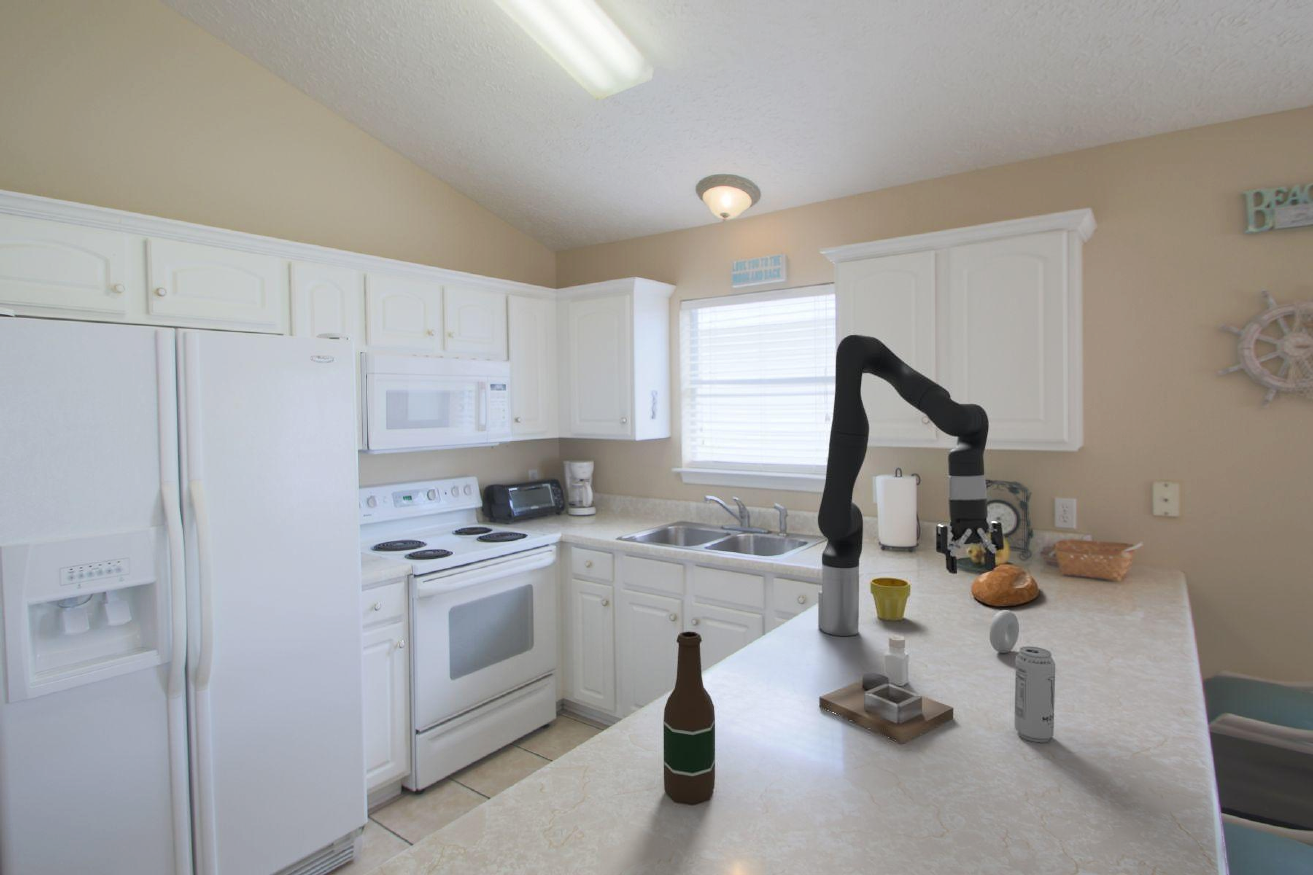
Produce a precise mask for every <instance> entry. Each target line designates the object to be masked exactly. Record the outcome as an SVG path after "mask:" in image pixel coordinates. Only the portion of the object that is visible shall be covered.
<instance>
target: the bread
mask: <svg viewBox="0 0 1313 875" xmlns="http://www.w3.org/2000/svg"><path fill="white" fill-rule="evenodd" d="M970 590H971V595H972V597H974V598H975V599H976V600H978V601H979V602H982V603H984V604H986V605H989V606H992V607H1011V606H1013V607H1014V606H1018V605H1022V604H1024V603H1025V604H1026V603H1028V602H1030V601H1033V600H1034V599H1036V598H1037V597H1038V594H1039V592H1040V590H1039V585H1038V583H1037V581H1036V579H1035V578H1034V577H1033V576H1032V575H1031V574H1029V573H1027V572H1026V571H1025V570H1023V569H1022V568H1020V567H1019V566H1016V565H1013V564H1000V565H998V566H995V568H994V570H993V571H987V572H984V573H981V574H980V575H978V577H977V578H975V579H974V581H973V582H972V584H971V588H970Z"/></svg>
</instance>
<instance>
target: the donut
mask: <svg viewBox="0 0 1313 875" xmlns="http://www.w3.org/2000/svg"><path fill="white" fill-rule="evenodd" d="M990 622H991V623H990V626H989V642H990V645H991V647H992V648H993V649H994V651H996V652H998V653H1000V654H1006V653H1009V652H1010V651H1012V650H1013V648H1014V647H1015V645H1016V643H1017V642H1018V638H1019V635H1020V634H1019V633H1020V624H1019V619H1018V617H1017V616H1016V614H1015V613H1014V612H1012V611H1011V610H1008V609H1007V610H1006V609H1003V610H1000V611H998V612H997V613H995V615H994V616H993V619H992V620H991V621H990Z"/></svg>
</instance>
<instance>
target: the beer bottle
mask: <svg viewBox="0 0 1313 875" xmlns="http://www.w3.org/2000/svg"><path fill="white" fill-rule="evenodd" d="M702 641H703V640H702V637H701V634H700V633H697V632H696V631H684V632H683V631H682V632H680V633H679V634H678V635H677V638H676V643H677V644H678V650H677V662H676V663H677V667H676V678H675V686H674V689H673V690H672V691H671V693H670V695H669V697H668V698H667V700H666V703H665V706H664V710H663V788H664V791H665V794H667V796H669V798H670V799H671V800H672V801H673V802H674V803H679V804H684V805H690V806H696V805H699V804H701V803H703V802H708V801H709V800H710V799H711V796H712V793H713V792H714V789H715V784H716V782H715V781H716V714H715V706H714V702H713V700H712V697H711V695H710V694H709V693H708V691H707V690H706V688H705V686H704V683H703V676H702V675H703V673H702V659H701V658H702V657H701V643H702Z"/></svg>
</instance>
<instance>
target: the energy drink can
mask: <svg viewBox="0 0 1313 875" xmlns="http://www.w3.org/2000/svg"><path fill="white" fill-rule="evenodd" d="M1054 660H1055V659H1053V656H1052V652H1051V651H1049V650H1048V649H1045V648H1042V647H1038V646H1022V647H1020V648H1019V653H1018V654H1017V655H1016V656H1015V672H1014V674H1015V675H1014V676H1015V677H1014V718H1013V719H1014V723H1013V724H1014V725H1013V726H1014V729H1015V730H1016V731H1017V734H1018V735H1019V737H1020V738H1022V739H1024V740H1027V741H1030V742H1033V743H1047V742H1049V741H1050V740H1051V738H1053V736H1054V735H1055V734H1054V732H1055V731H1054V730H1055V728H1054V727H1055V699H1056V698H1055V697H1056V696H1055V695H1056V694H1055V689H1056V688H1055V687H1056V662H1055V661H1054Z"/></svg>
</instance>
